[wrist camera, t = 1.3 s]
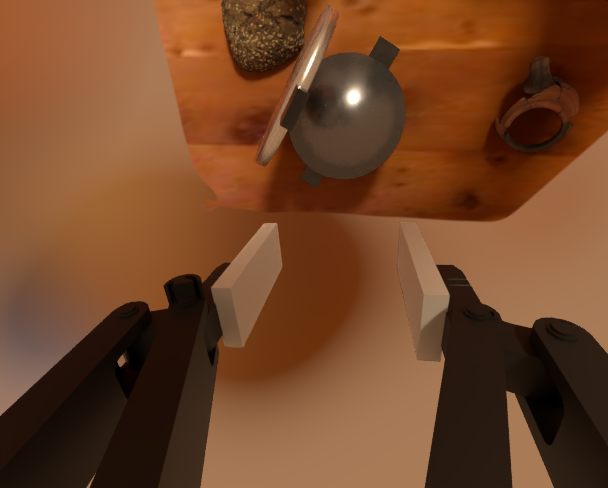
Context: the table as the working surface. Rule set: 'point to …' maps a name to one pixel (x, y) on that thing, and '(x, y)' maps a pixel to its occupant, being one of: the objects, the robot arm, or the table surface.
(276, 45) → the speckled stone
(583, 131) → the table surface
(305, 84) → the lid
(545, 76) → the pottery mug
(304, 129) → the cooker pot
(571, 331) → the robot arm
